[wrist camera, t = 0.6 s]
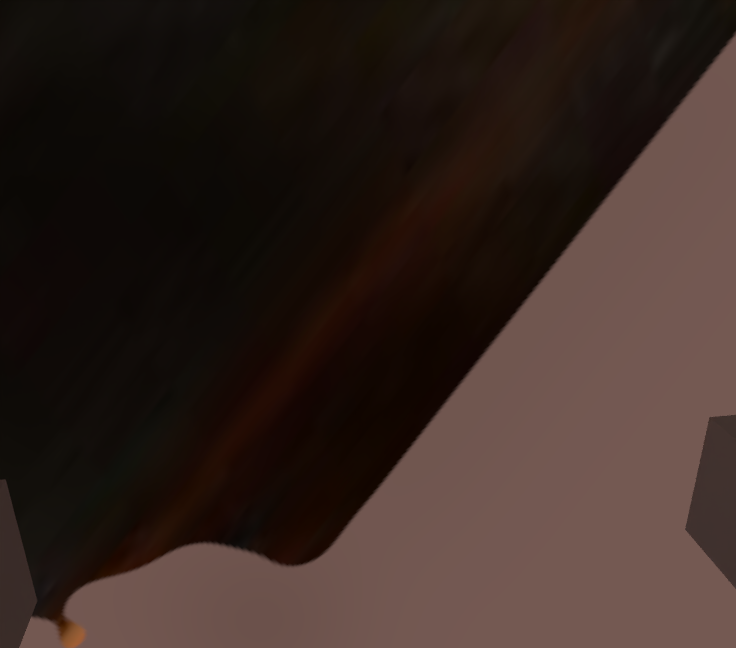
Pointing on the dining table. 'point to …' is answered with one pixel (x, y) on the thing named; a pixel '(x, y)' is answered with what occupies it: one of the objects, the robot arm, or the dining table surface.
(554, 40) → the dining table surface
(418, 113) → the dining table surface
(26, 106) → the dining table surface
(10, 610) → the robot arm
